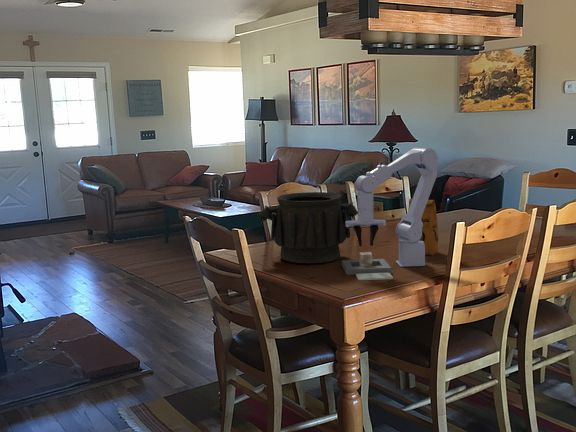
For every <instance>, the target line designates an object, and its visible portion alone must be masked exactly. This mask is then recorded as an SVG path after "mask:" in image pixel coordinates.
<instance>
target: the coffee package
mask: <svg viewBox="0 0 576 432" xmlns="http://www.w3.org/2000/svg"><path fill="white" fill-rule="evenodd" d="M412 199H413V198H409V199H408V208H407V211H408V210H409V207H410V204H411V202H412ZM436 206H437V205H436V201H435V199H428V201H427V204H426V206H425V209H424V212H423V215H422V217H421V220H422V223H423V227H422V236H421V238H420V239H419V241H423V242H424V244H425V255H429V256H434V255H436V254H438V253H439V230H438V229H439V228H438V227H439V225H438V216H437V207H436Z"/></svg>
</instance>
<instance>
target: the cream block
mask: <svg viewBox="0 0 576 432" xmlns="http://www.w3.org/2000/svg"><path fill="white" fill-rule="evenodd" d="M372 259H373V254H372V252H371V251H365V252H364V251H363V252H360V251H359V260H360V266H372Z"/></svg>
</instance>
